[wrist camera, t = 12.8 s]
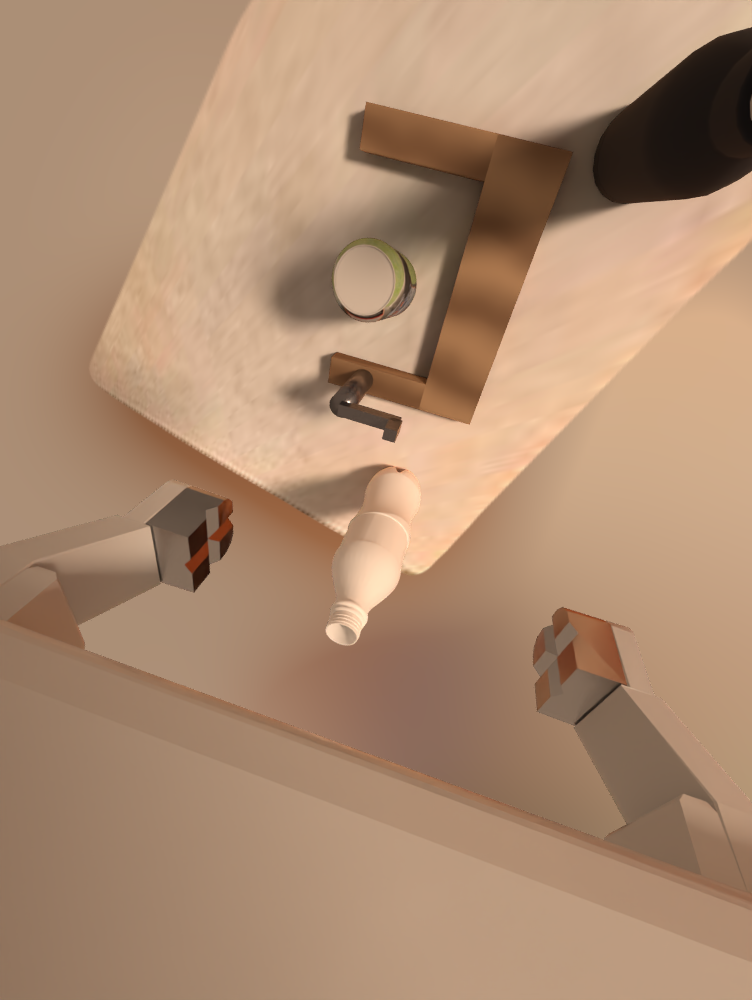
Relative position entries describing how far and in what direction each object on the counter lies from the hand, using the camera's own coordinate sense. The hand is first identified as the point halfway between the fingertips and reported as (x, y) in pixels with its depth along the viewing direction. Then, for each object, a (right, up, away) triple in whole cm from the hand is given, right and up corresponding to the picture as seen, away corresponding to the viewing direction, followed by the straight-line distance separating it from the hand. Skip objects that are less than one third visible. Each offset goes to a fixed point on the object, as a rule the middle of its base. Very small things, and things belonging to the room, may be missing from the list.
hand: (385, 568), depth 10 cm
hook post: (+1, +16, +38) cm, 41 cm away
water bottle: (+3, +4, +46) cm, 46 cm away
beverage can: (+1, +24, +32) cm, 40 cm away
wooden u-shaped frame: (+6, +23, +31) cm, 39 cm away
